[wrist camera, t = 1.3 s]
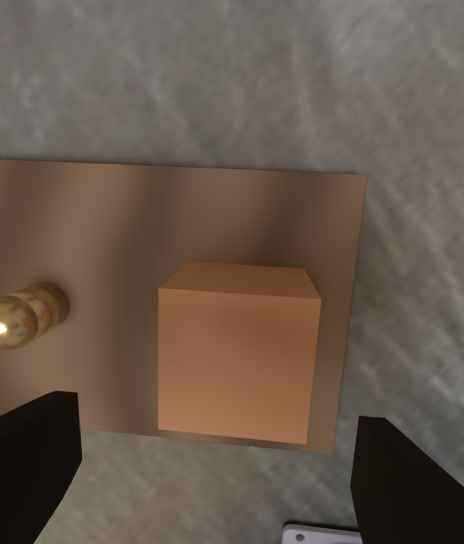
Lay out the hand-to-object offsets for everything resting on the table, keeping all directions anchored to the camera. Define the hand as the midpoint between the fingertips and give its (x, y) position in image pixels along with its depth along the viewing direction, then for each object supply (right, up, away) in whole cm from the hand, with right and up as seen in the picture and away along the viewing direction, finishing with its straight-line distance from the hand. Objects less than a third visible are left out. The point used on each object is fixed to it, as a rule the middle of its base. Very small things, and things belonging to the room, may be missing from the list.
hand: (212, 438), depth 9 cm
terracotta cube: (+1, +2, +8) cm, 8 cm away
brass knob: (-9, +3, +9) cm, 13 cm away
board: (-4, +3, +10) cm, 11 cm away
